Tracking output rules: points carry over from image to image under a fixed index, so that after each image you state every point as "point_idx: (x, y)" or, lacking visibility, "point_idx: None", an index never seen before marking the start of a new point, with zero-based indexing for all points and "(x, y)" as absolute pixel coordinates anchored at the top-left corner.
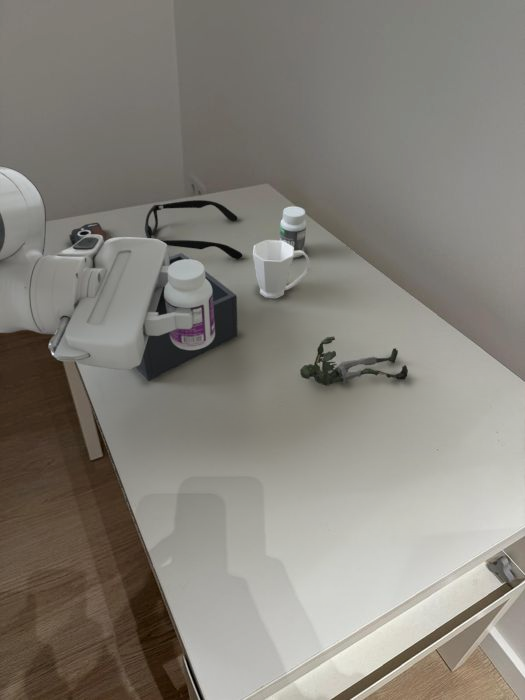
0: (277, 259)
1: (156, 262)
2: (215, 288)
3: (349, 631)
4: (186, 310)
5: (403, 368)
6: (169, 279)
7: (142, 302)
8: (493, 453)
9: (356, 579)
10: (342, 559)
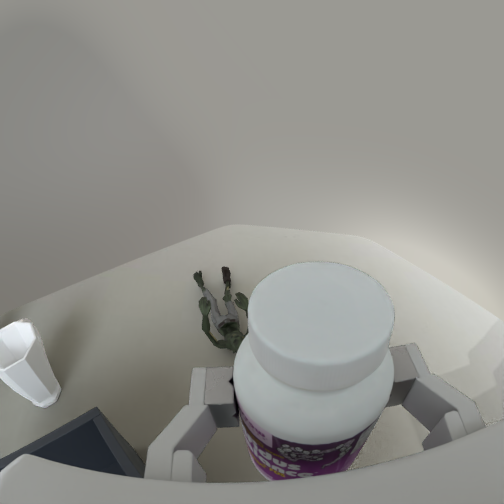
0: (11, 358)
1: (148, 492)
2: (61, 444)
3: (482, 307)
4: (397, 355)
5: (225, 269)
6: (376, 361)
7: (453, 455)
8: (308, 239)
9: (452, 307)
10: (444, 316)
